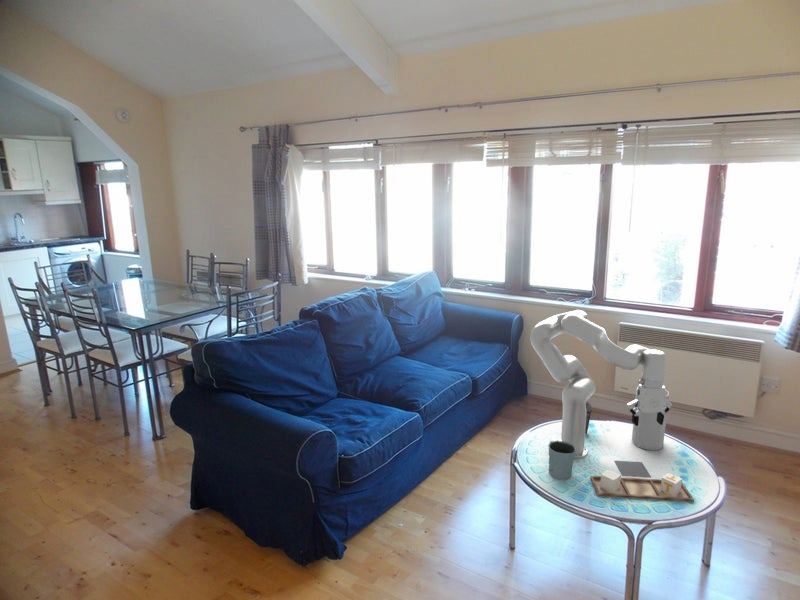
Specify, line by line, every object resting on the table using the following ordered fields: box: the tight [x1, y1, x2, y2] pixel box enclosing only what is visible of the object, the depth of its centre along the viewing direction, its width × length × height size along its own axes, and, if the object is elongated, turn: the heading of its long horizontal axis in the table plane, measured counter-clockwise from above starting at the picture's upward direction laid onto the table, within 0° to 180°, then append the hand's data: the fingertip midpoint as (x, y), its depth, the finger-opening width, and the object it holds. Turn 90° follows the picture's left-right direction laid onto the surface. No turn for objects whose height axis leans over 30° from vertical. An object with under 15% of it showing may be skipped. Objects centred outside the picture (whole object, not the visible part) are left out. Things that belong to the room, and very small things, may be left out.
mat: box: [613, 460, 653, 479], centre depth 201 cm, size 11×11×1 cm
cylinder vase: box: [631, 386, 670, 451], centre depth 217 cm, size 12×12×25 cm
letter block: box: [660, 472, 683, 497], centre depth 185 cm, size 5×5×6 cm
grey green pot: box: [548, 440, 576, 481], centre depth 197 cm, size 10×10×12 cm
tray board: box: [589, 475, 695, 503], centre depth 187 cm, size 33×12×1 cm, turn 82°
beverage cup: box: [585, 400, 593, 435], centre depth 229 cm, size 7×7×20 cm
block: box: [600, 469, 622, 493], centre depth 188 cm, size 5×5×6 cm
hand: (647, 423), depth 192 cm, fingers open, 9 cm apart
